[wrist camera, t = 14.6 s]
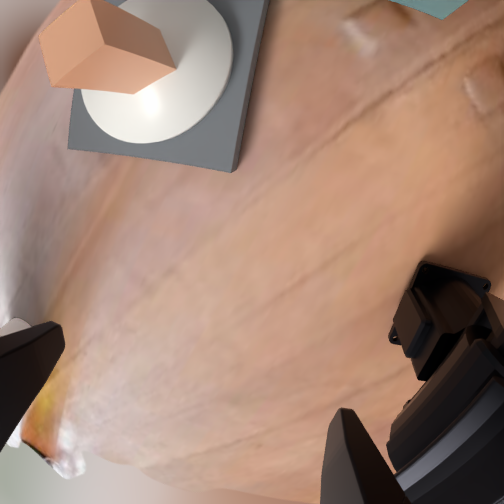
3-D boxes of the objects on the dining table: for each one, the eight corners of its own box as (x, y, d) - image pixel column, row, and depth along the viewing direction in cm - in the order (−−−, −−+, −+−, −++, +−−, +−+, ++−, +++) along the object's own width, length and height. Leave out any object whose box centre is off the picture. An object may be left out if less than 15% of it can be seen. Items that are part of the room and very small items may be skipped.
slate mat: (271, -10, 15) (268, -19, 13) (236, 169, 19) (230, 172, 18) (107, -5, 16) (96, -10, 14) (80, 146, 20) (67, 148, 19)
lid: (198, -32, 13) (141, -95, 6) (261, 98, 16) (225, 75, 9) (73, 47, 16) (-11, 33, 9) (116, 169, 19) (29, 196, 12)
